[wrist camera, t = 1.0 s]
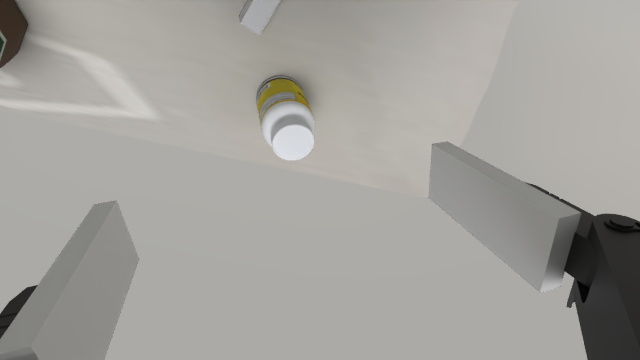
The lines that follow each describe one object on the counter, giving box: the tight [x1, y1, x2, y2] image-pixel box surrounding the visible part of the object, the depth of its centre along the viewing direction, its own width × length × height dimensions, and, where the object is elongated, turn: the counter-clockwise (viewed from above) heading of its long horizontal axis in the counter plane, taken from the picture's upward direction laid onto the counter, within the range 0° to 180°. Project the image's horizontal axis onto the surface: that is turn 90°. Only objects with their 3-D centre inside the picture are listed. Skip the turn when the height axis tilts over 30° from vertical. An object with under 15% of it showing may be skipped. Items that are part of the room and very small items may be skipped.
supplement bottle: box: [256, 76, 315, 161], centre depth 36 cm, size 5×5×10 cm
